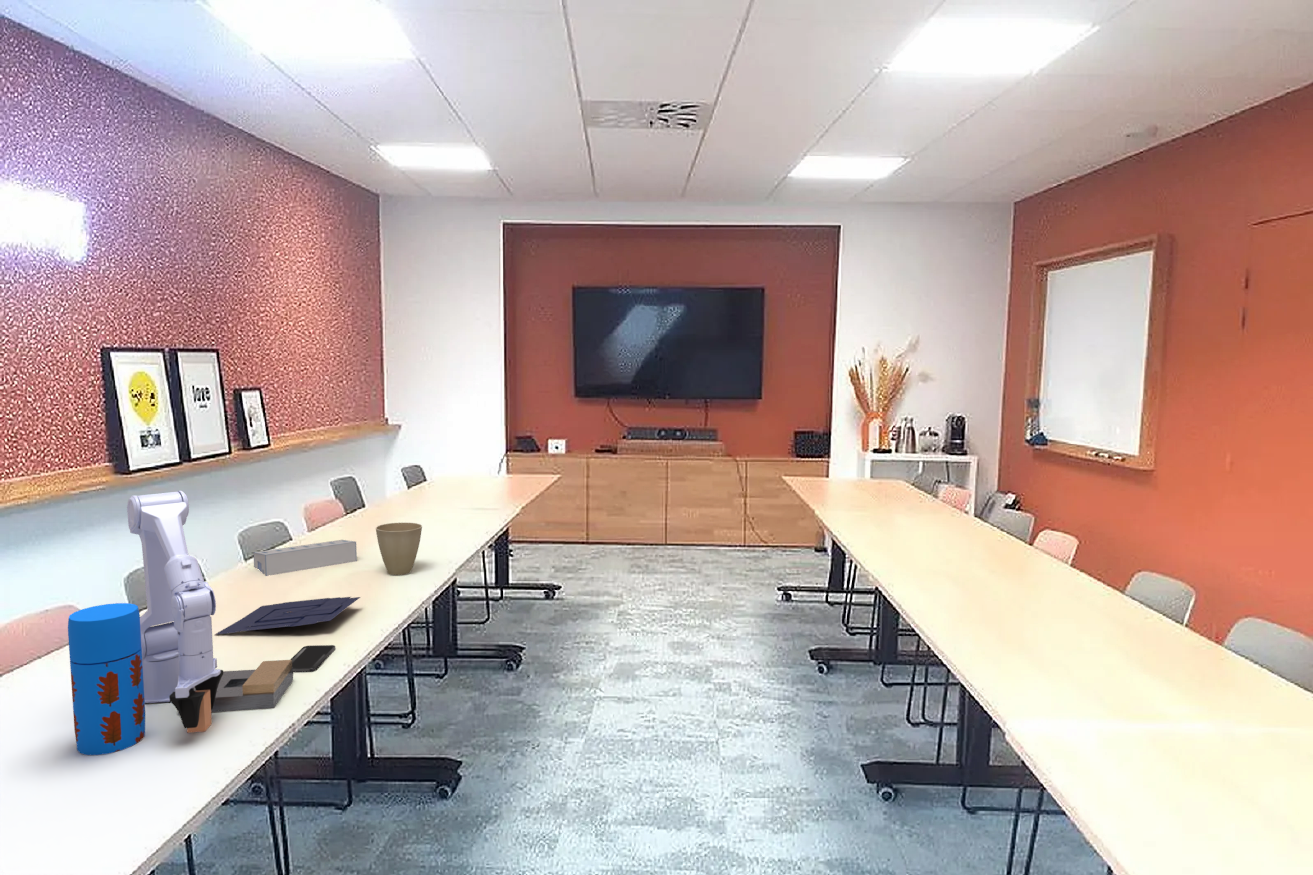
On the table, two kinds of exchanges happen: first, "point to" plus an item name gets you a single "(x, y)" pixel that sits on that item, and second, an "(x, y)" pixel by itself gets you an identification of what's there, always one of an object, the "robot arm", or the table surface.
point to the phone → (311, 657)
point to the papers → (291, 614)
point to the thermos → (107, 678)
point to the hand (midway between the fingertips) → (199, 718)
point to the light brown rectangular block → (203, 713)
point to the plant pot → (399, 546)
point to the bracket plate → (244, 701)
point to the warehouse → (305, 557)
